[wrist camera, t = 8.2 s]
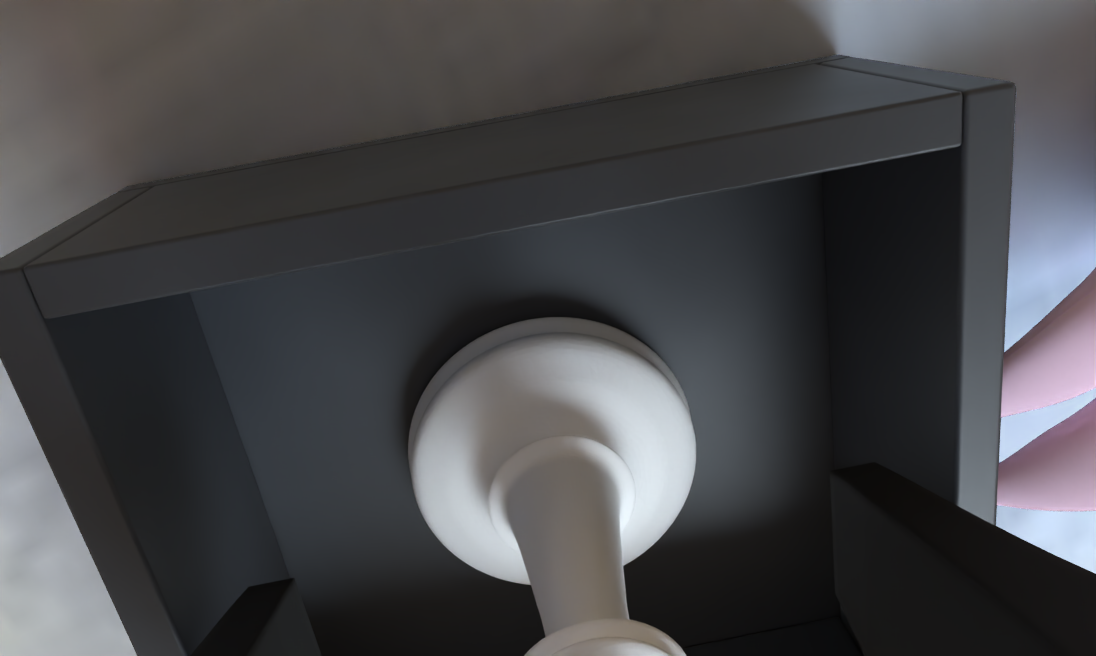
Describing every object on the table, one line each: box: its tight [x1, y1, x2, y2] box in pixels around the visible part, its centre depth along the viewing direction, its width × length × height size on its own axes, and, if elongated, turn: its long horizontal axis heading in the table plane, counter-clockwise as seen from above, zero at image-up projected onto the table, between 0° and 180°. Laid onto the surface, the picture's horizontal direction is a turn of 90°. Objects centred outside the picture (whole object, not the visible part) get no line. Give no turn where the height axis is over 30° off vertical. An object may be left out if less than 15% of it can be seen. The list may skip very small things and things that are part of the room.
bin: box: [0, 55, 1016, 656], centre depth 13 cm, size 11×11×4 cm
